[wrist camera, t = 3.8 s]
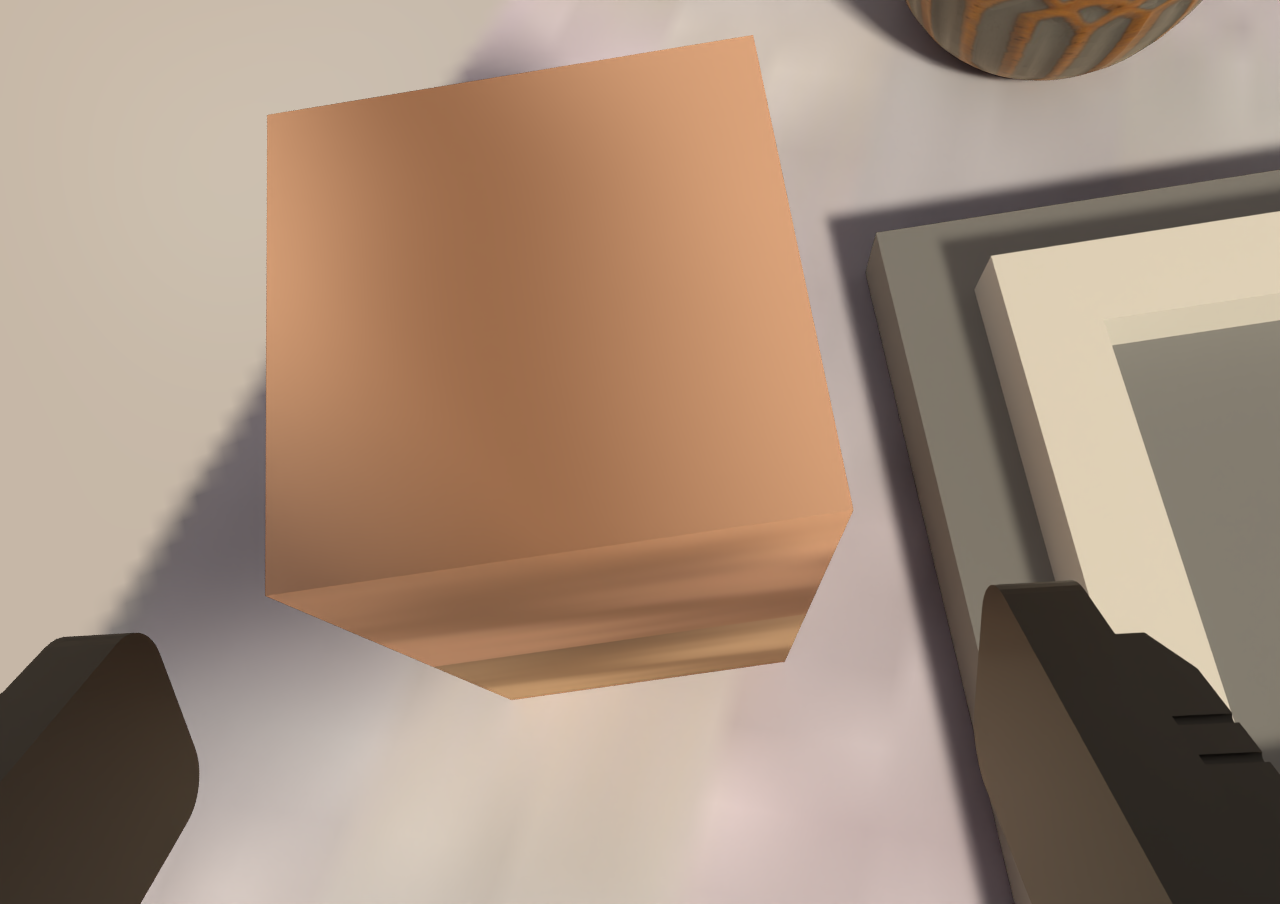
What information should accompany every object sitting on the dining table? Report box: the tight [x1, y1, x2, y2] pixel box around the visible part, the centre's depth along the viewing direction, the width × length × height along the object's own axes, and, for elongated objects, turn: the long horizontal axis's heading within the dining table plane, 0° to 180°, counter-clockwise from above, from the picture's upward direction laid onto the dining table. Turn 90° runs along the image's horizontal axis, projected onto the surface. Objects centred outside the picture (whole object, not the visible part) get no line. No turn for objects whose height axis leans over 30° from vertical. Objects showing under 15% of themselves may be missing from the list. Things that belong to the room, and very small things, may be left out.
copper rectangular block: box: [265, 35, 853, 700], centre depth 14 cm, size 5×5×10 cm
